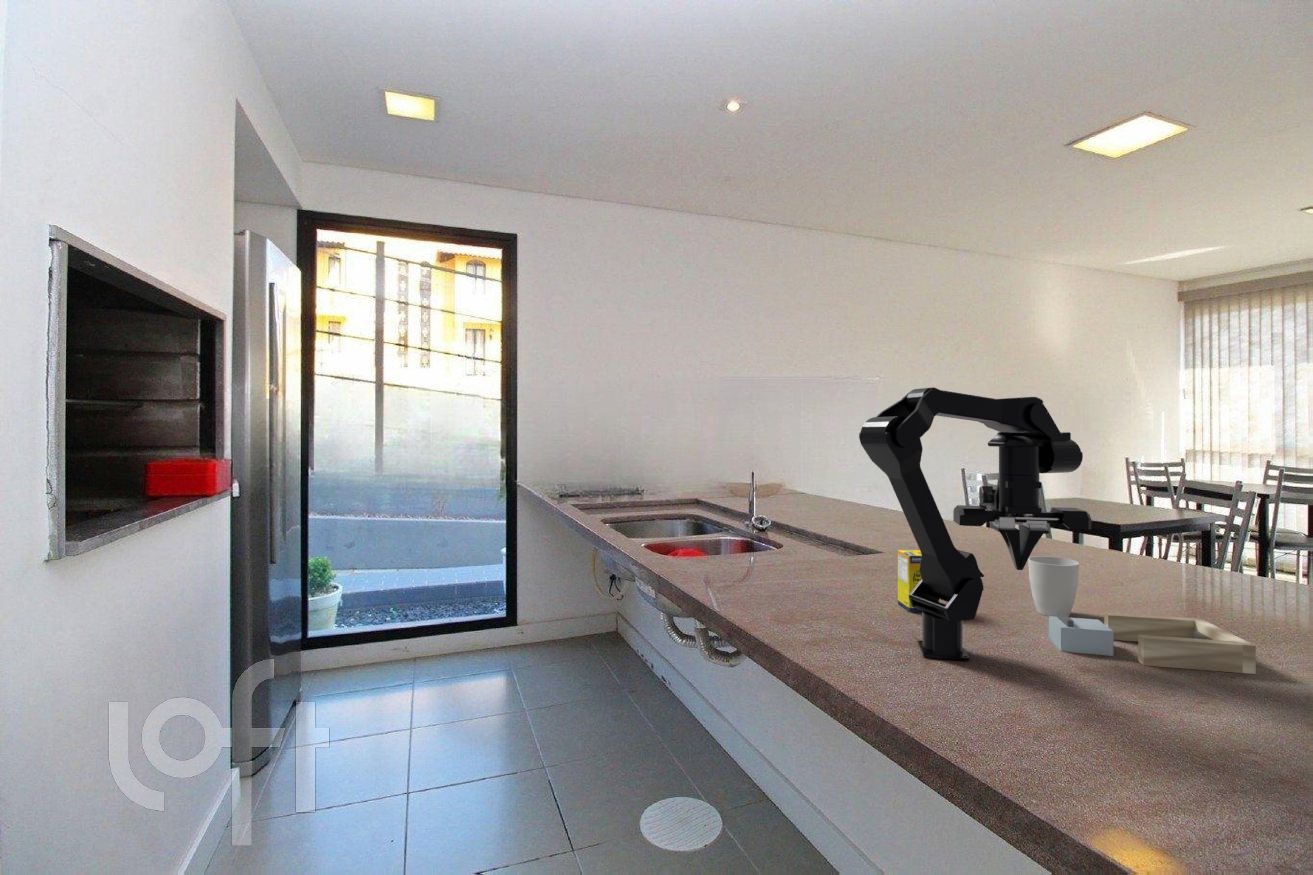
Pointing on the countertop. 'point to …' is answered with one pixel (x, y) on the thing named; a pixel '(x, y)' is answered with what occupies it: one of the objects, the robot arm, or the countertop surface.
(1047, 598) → the cup
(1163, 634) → the tray
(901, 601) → the supplement box
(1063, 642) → the sliding lid
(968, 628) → the countertop surface
